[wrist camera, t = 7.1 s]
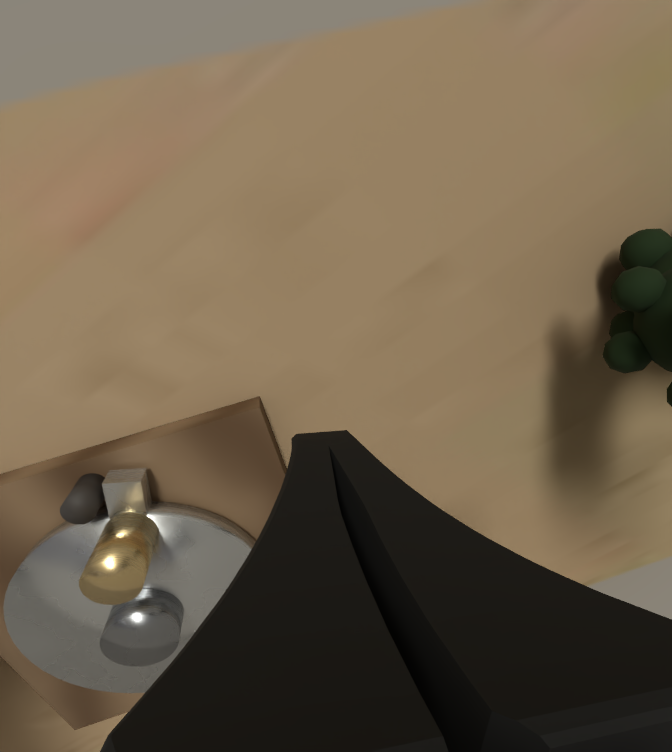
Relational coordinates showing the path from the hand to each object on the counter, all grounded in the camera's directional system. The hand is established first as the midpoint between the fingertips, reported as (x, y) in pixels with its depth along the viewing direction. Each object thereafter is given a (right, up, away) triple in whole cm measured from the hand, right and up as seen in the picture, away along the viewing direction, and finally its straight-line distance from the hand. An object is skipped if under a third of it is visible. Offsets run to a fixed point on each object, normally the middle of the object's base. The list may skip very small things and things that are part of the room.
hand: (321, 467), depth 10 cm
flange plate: (-10, -10, +12) cm, 18 cm away
